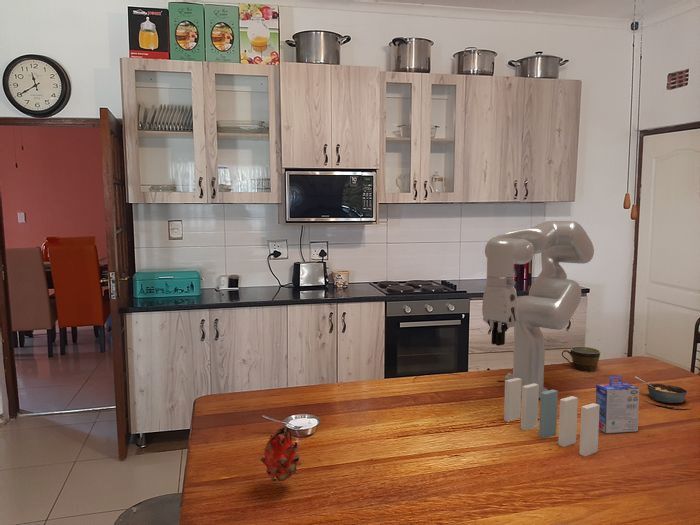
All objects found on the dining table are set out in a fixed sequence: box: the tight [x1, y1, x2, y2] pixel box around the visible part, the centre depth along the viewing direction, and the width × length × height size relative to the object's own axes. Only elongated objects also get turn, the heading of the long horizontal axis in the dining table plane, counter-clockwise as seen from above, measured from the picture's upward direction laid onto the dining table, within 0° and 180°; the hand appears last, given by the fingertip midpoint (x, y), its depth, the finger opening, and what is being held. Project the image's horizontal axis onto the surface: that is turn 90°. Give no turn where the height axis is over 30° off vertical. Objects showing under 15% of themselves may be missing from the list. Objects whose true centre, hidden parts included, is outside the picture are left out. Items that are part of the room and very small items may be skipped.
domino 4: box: [557, 395, 579, 448], centre depth 132 cm, size 2×5×12 cm, turn 121°
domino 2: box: [520, 383, 539, 431], centre depth 142 cm, size 2×5×12 cm, turn 121°
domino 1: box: [503, 378, 522, 423], centre depth 147 cm, size 2×5×12 cm, turn 122°
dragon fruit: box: [260, 427, 302, 482], centre depth 112 cm, size 8×8×12 cm
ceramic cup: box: [561, 346, 601, 373], centre depth 189 cm, size 13×10×10 cm
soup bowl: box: [634, 375, 693, 410], centre depth 161 cm, size 15×16×7 cm
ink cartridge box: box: [595, 375, 640, 434], centre depth 141 cm, size 10×6×14 cm, turn 98°
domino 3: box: [538, 389, 559, 439], centre depth 137 cm, size 2×5×12 cm, turn 122°
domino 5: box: [578, 402, 600, 457], centre depth 126 cm, size 2×5×12 cm, turn 122°
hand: (498, 344), depth 151 cm, fingers closed
